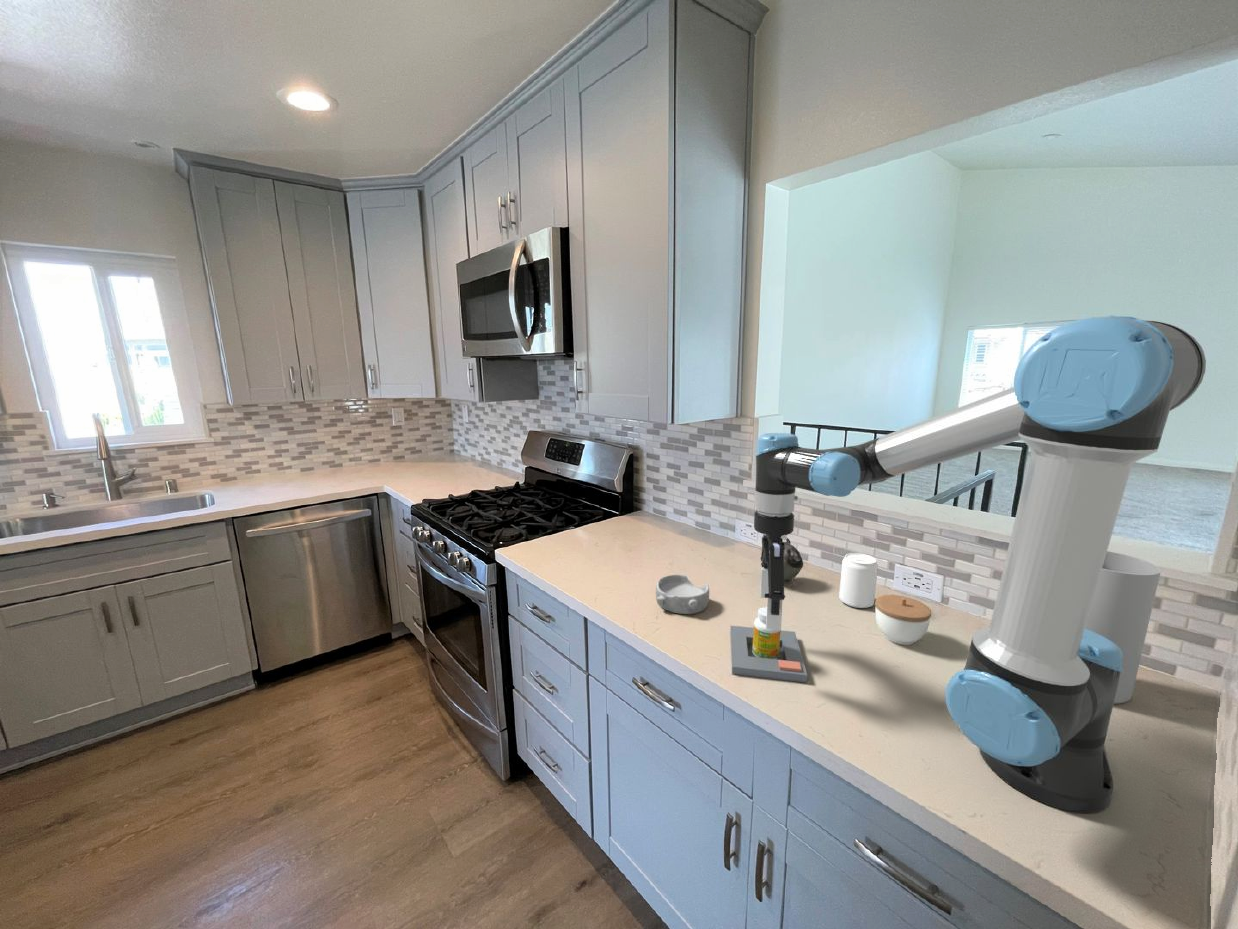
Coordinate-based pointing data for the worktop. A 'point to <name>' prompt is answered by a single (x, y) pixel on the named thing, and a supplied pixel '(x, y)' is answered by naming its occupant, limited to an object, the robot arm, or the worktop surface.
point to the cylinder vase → (1124, 611)
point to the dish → (681, 595)
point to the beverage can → (858, 580)
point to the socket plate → (780, 668)
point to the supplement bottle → (765, 638)
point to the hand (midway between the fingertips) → (769, 612)
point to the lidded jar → (902, 618)
